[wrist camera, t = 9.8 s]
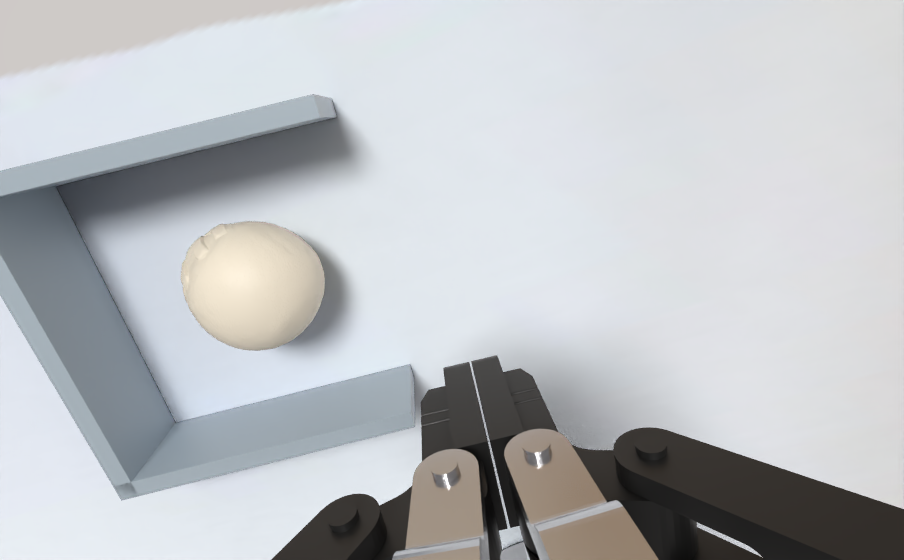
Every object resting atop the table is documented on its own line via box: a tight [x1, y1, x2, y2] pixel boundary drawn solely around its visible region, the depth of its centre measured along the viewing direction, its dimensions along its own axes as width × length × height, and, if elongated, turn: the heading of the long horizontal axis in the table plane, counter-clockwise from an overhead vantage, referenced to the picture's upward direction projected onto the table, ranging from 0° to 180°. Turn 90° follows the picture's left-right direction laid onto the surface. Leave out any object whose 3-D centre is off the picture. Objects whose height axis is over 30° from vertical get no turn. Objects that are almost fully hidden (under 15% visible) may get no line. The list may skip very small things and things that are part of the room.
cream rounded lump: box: [181, 221, 325, 351], centre depth 26 cm, size 7×7×7 cm
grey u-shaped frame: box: [0, 94, 415, 500], centre depth 27 cm, size 17×18×6 cm
